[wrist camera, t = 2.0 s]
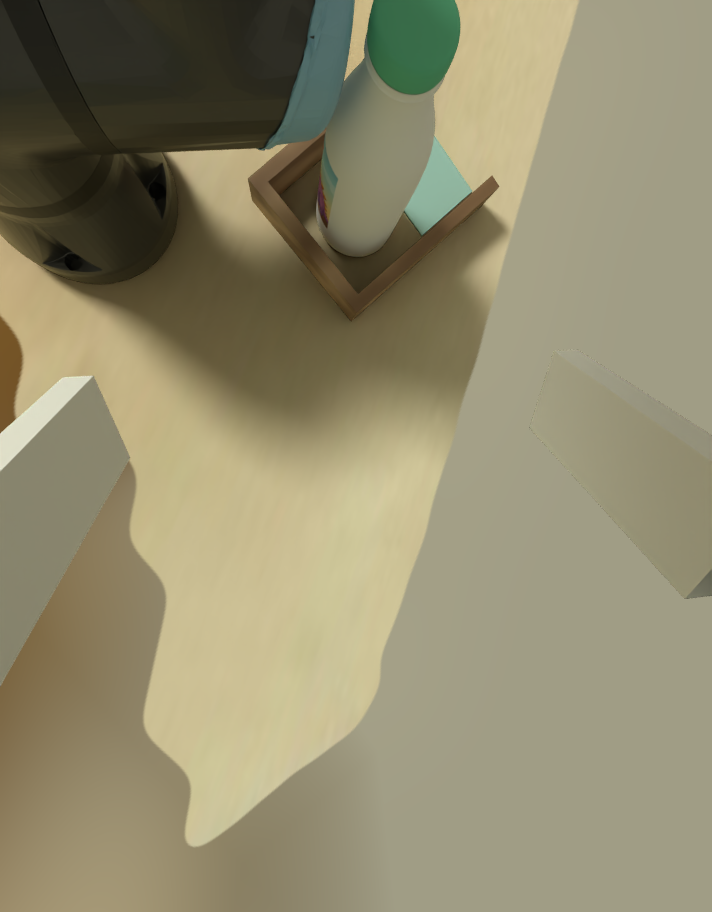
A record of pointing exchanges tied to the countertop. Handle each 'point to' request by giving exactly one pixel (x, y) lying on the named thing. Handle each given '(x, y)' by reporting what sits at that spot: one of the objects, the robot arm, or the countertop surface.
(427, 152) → the milk bottle
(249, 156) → the countertop surface
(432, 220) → the pad
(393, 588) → the countertop surface
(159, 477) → the countertop surface
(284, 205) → the bay
